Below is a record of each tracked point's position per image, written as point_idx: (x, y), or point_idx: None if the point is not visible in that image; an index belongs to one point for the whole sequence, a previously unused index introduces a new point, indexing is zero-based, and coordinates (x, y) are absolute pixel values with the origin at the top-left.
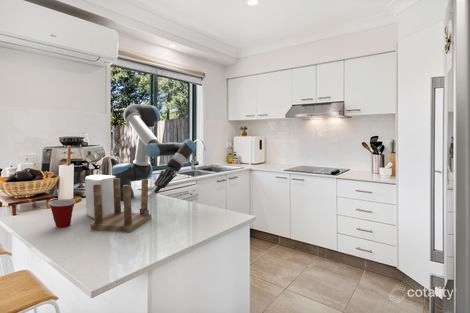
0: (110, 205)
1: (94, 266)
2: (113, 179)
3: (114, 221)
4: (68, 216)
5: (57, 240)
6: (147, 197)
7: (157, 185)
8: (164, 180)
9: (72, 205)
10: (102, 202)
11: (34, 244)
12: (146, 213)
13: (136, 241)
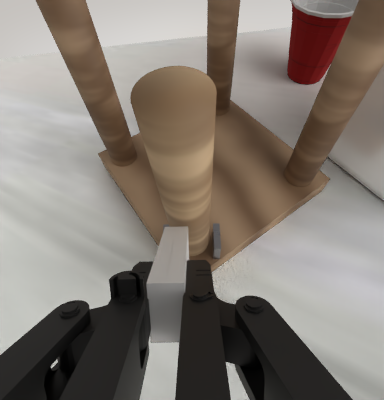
0: (381, 153)
1: (11, 76)
2: None
3: None
4: (294, 50)
5: (196, 58)
6: (167, 217)
7: (121, 276)
8: (5, 391)
9: (308, 19)
10: None
11: (205, 37)
12: None
13: (28, 154)
